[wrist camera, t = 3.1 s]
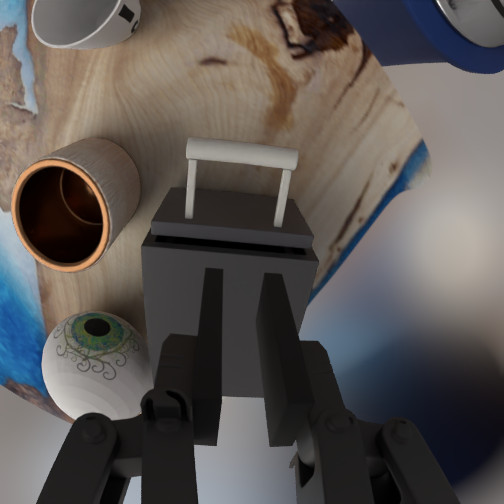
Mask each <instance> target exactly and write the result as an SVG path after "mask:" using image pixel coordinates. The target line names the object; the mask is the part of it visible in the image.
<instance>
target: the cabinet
mask: <svg viewBox="0 0 504 504" xmlns="http://www.w3.org/2000/svg"><path fill="white" fill-rule="evenodd" d="M167 237H168V236H163V235H152V234H151V228H150V230H149V232H148V234H147V236H146V238H145V240H144V241H143V243H142V245H141V255H142V276H143V293H144V306H145V318H146V329H147V339H148V348H149V356H150V364H151V372H152V379H153V386H154V383H155V378H156V373H157V368H158V363H159V358H160V353H161V348H162V343H163V342H164V341H165V339H166V338H167V337H168V336H169V334H170V333H173V334H183V335H194V336H198V328H199V319H200V309H201V300H202V291H203V283H204V274H205V267H206V268H218V269H223V314H222V396H230V397H260V398H264V393H263V384H262V376H261V367H260V358H259V349H258V340H257V331H256V322H255V321H256V316H257V310H258V305H259V300H260V294H261V289H262V283H263V278H264V272H266V273H278V274H282V276H283V279H284V283H285V287H286V291H287V294H288V298H289V302H290V306H291V309H292V313H293V317H294V321H295V325H296V328H297V332H298V334H299V331H300V328H301V324H302V321H303V318H304V314H305V311H306V307H307V304H308V301H309V297H310V294H311V290H312V286H313V283H314V279H315V276H316V272H317V268H318V265H319V260H318V258H317V256H316V254H315V252H314V250H313V248H312V246H311V249H305V248H294V247H292V250H293V253H294V254H286V253H275V252H264V251H253V250H242V249H231V248H220V247H209V246H198V245H186V244H175V243H165V242H166V239H167Z"/></svg>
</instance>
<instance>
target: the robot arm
mask: <svg viewBox="0 0 504 504" xmlns="http://www.w3.org/2000/svg"><path fill="white" fill-rule="evenodd" d="M432 2H433V4H434V6H435V8H436V9H437V11H438V12H439V14H440V15H441V17H442V18H443V20H444V21H445V22H446V23H447V24H448V25H449V27H450V28H451V29H452V30H453V31H454V32H455V33H457V34H458V35H459V36H460V37H461V38H463V39H464V40H466V41H467V42H469V43H471V44H473V45H476V46H479V47H496V46H501V45H503V44H504V0H432ZM222 314H223V269H218V268H206V267H205V274H204V283H203V291H202V300H201V309H200V319H199V328H198V336H194V335H183V334H173V333H170V334H169V336H168V337H167V338H166V339H165V341H164V342H163V343H162V348H161V353H160V358H159V363H158V368H157V373H156V378H155V383H154V388H153V389H151V390H149V391H148V392H147V393H146V394H145V395H144V396H143V397H142V400H141V403H140V407H141V411H142V414H140V415H138V416H136V417H133V418H128V419H120V420H111V419H110V418H109V417H107V416H106V415H104V414H102V413H96V412H91V413H85V414H83V415H82V416H80V417H78V418H77V419H76V421H75V422H74V423H73V425H72V427H71V429H70V432H69V433H68V435H67V437H66V439H65V441H64V443H63V445H62V447H61V450H60V451H59V453H58V456H57V458H56V460H55V462H54V464H53V467H52V468H51V471H50V473H49V475H48V477H47V480H46V482H45V484H44V486H43V489H42V491H41V493H40V496H39V498H38V500H37V503H36V504H123V501H124V498H125V495H126V492H127V489H128V486H129V483H130V479H131V477H136V476H142V478H141V504H198V494H197V483H196V470H195V458H194V445H208V446H217V437H218V430H219V421H220V413H221V404H222ZM255 322H256V331H257V340H258V349H259V358H260V367H261V376H262V384H263V393H264V401H265V410H266V419H267V428H268V435H269V445H270V447H279V446H292V445H293V443H294V442H295V440H296V442H297V447H298V451H297V452H296V454H295V456H294V457H293V459H292V461H291V462H290V466H289V468H293V466H294V465H295V474H296V475H295V476H296V496H297V504H460V502H459V500H458V498H457V496H456V495H455V493H454V491H453V489H452V487H451V486H450V484H449V482H448V480H447V479H446V477H445V475H444V473H443V471H442V470H441V468H440V466H439V464H438V463H437V461H436V459H435V457H434V456H433V454H432V452H431V451H430V449H429V447H428V446H427V444H426V442H425V441H424V439H423V437H422V435H421V434H420V432H419V431H418V429H417V427H416V426H415V425H414V424H413V422H411V421H410V420H408V419H406V418H402V417H394V418H391V419H389V420H388V421H387V422H386V423H385V424H384V425H383V424H376V423H370V422H365V421H361V420H359V419H357V418H356V416H355V415H354V414H353V413H352V412H351V411H349V410H347V409H346V408H345V406H344V403H343V400H342V397H341V394H340V391H339V388H338V384H337V382H336V378H335V375H334V373H333V369H332V366H331V364H330V360H329V357H328V354H327V351H326V350H325V349H324V347H323V346H322V345H321V344H320V343H319V342H318V341H300V340H299V336H298V332H297V328H296V325H295V321H294V317H293V313H292V309H291V306H290V302H289V298H288V294H287V291H286V287H285V283H284V279H283V276H282V274H278V273H266V272H264V278H263V283H262V289H261V294H260V300H259V305H258V310H257V316H256V321H255Z"/></svg>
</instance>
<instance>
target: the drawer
mask: <svg viewBox="0 0 504 504" xmlns="http://www.w3.org/2000/svg"><path fill="white" fill-rule="evenodd" d="M186 157H187V158H188V159H189V167H188V180H187V188H176V187H171V189H170V190H169V192H168V193H167V195H166V197H165V199H164V200H163V202H162V204H161V205H160V207H159V209H158V210H157V212H156V214H155V216H154V217H153V219H152V221H151V234H152V235H163V236H168V237H167V239H166V242H165V243H175V244H186V245H198V246H209V247H220V248H231V249H242V250H253V251H264V252H275V253H286V254H294V253H293V250H292V247H294V248H305V249H311V246H312V242H313V238H314V235H313V234H312V232H311V230H310V228H309V226H308V225H307V223H306V221H305V219H304V217H303V216H302V214H301V212H300V210H299V208H298V207H297V205H296V203H295V201H294V200H293V199H287V195H288V190H289V184H290V179H291V173H292V170H295V169H296V167H297V163H298V150H297V149H291V148H285V147H278V146H271V145H263V144H255V143H247V142H238V141H229V140H219V139H208V138H195V137H189V138H188V142H187V148H186ZM198 159H200V160H211V161H222V162H232V163H241V164H250V165H259V166H267V167H274V168H282V169H283V172H282V178H281V184H280V189H279V195H278V197H269V196H261V195H252V194H242V193H232V192H222V191H212V190H200V189H195V186H196V174H197V163H198Z"/></svg>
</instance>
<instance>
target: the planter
mask: <svg viewBox="0 0 504 504" xmlns="http://www.w3.org/2000/svg"><path fill="white" fill-rule="evenodd" d="M140 192H141V185H140V178H139V174H138V171H137V168H136V166H135V164H134V162H133V160H132V159H131V157H130V156H129V155H128V154H127V152H126V151H125V150H124V149H122V148H121V147H120V146H118V145H117V144H115V143H113V142H111V141H109V140H105V139H101V138H88V139H83V140H80V141H77V142H75V143H72V144H70V145H68V146H66V147H63V148H61V149H59V150H57V151H55V152H53V153H50V154H48V155H46V156H44V157H42V158H39V159H37V160H36V161H34V162H32V163H31V164H29V165H28V166H27V167H26V168H25V169H24V170H23V171H22V172H21V174H20V175H19V177H18V179H17V181H16V183H15V185H14V188H13V192H12V198H11V213H12V220H13V224H14V227H15V230H16V232H17V235H18V237H19V239H20V241H21V242H22V244H23V245H24V247H25V248H26V249H27V251H28V252H29V253H30V254H31V255H32V256H33V257H34V258H35V259H36V260H37V261H39V262H40V263H42V264H43V265H45V266H46V267H48V268H50V269H53V270H56V271H59V272H64V273H78V272H82V271H85V270H88V269H90V268H91V267H93V266H94V265H96V264H97V263H98V262H99V261H100V260H101V259H102V258H103V256H104V255H105V253H106V252H107V250H108V249H109V248H110V246H111V245H112V243H113V242H114V240H115V239H116V238H117V236H118V235H119V234H120V232H121V231H122V230H123V228H124V227H125V226H126V224H127V223H128V222H129V220H130V219H131V218H132V216H133V215H134V213H135V211H136V208H137V206H138V203H139V199H140Z"/></svg>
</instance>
